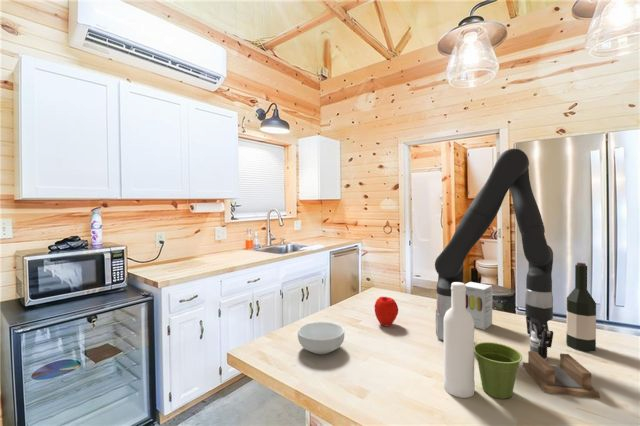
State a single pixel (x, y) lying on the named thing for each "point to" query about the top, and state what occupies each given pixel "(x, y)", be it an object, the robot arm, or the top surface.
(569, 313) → the wine bottle
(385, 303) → the apple
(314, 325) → the cereal bowl
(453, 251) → the robot arm
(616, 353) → the top surface
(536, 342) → the pill bottle
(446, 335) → the bottle
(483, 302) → the supplement box
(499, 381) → the plant pot
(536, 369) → the cradle
